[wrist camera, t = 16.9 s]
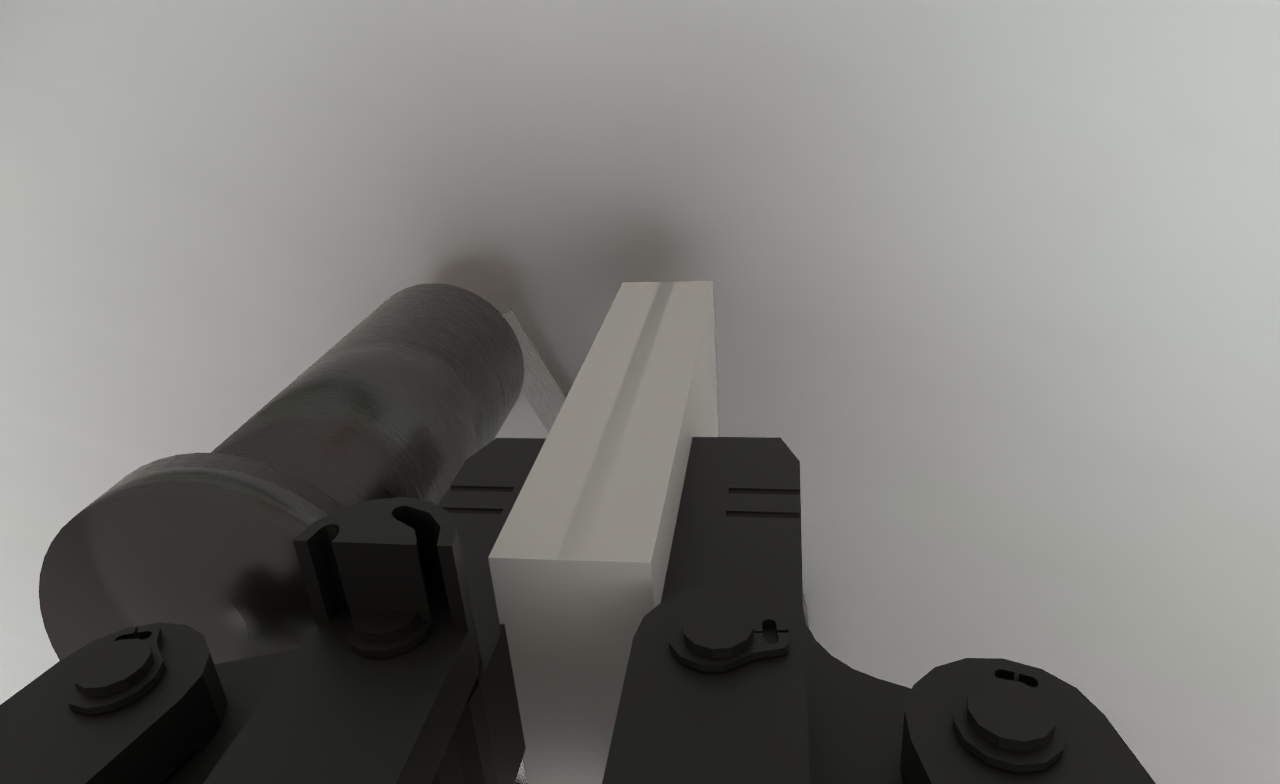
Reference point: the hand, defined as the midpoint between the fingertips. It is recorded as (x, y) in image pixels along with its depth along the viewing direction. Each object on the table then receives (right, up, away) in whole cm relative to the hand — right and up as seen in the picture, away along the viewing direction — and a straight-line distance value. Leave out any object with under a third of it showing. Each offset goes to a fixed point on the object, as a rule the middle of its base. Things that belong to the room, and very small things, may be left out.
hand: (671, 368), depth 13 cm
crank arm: (-2, -3, +6) cm, 7 cm away
